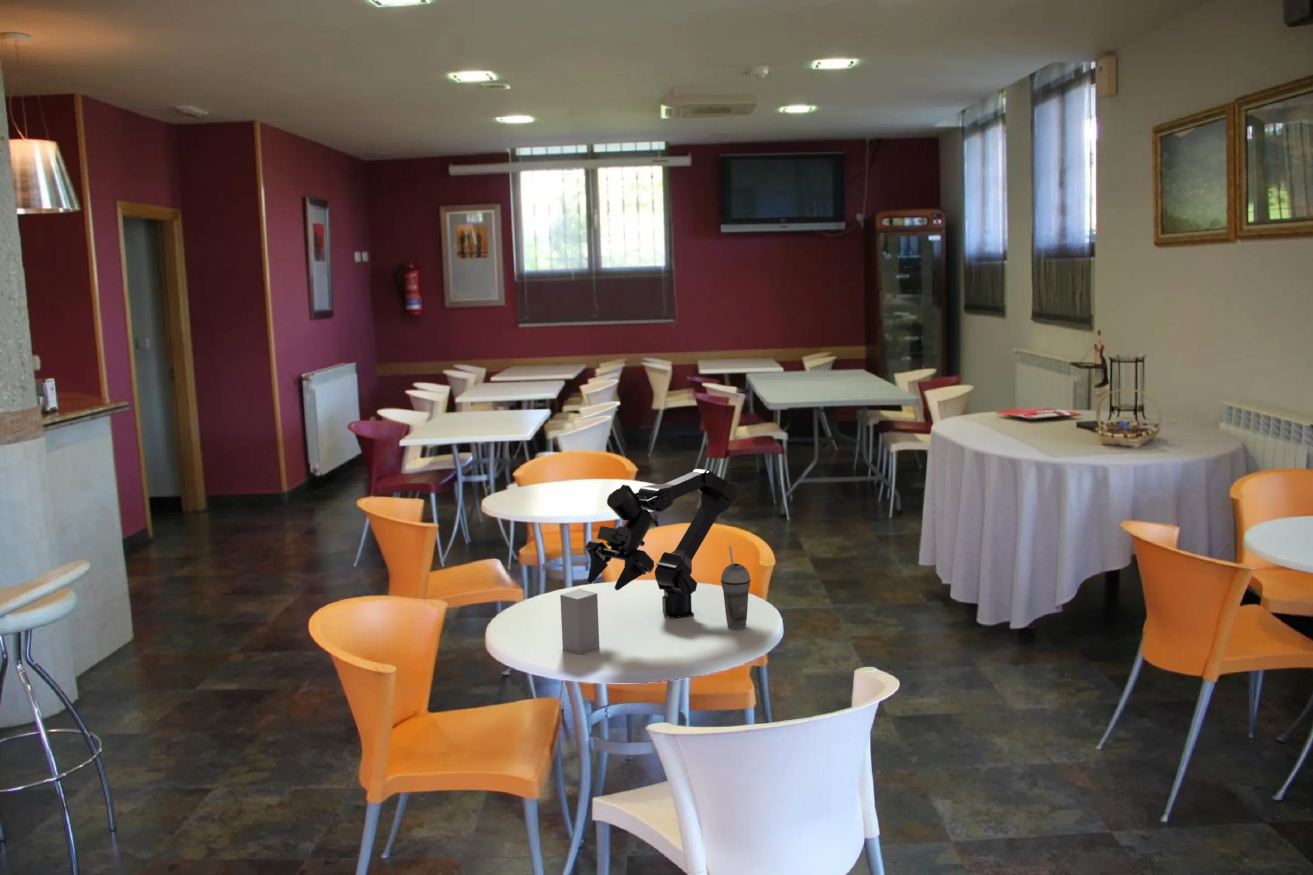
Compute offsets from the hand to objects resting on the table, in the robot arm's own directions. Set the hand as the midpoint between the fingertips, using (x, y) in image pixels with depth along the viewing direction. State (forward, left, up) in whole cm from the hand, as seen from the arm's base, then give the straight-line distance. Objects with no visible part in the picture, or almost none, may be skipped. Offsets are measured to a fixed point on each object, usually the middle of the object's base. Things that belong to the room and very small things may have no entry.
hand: (602, 585), depth 254 cm
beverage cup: (-33, +3, -13) cm, 35 cm away
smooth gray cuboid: (+6, +4, -13) cm, 15 cm away
